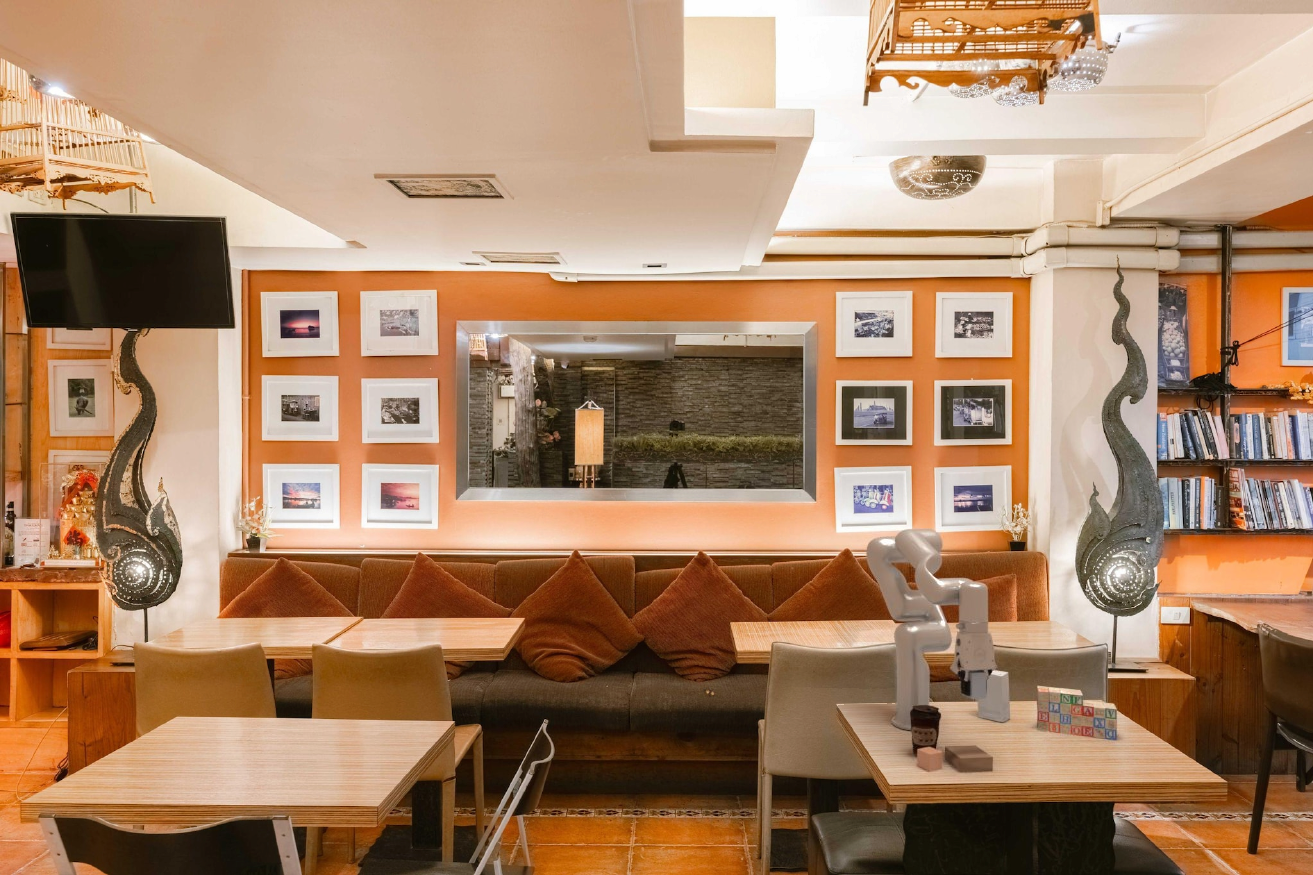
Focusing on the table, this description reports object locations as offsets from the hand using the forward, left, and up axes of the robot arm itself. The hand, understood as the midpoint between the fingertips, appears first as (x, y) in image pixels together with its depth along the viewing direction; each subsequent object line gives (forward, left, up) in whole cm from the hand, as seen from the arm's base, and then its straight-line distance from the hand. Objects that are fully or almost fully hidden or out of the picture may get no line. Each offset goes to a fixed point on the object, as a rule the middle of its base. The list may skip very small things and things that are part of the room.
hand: (973, 693), depth 233 cm
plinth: (+4, -5, -18) cm, 19 cm away
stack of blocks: (-13, +44, -18) cm, 50 cm away
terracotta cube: (+3, -16, -18) cm, 24 cm away
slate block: (0, 0, -1) cm, 1 cm away
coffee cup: (-5, -12, -18) cm, 22 cm away
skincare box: (-30, +27, -18) cm, 44 cm away
